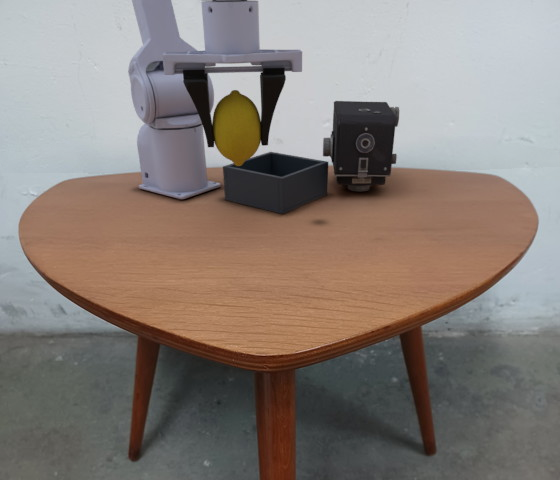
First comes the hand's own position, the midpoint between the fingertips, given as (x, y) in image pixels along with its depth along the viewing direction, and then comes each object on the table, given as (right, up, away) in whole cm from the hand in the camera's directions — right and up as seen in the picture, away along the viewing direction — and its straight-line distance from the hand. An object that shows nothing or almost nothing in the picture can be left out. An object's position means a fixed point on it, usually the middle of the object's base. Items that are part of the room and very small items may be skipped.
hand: (237, 144), depth 63 cm
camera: (+16, +2, +19) cm, 25 cm away
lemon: (0, -2, +1) cm, 3 cm away
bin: (+4, -2, +14) cm, 15 cm away
